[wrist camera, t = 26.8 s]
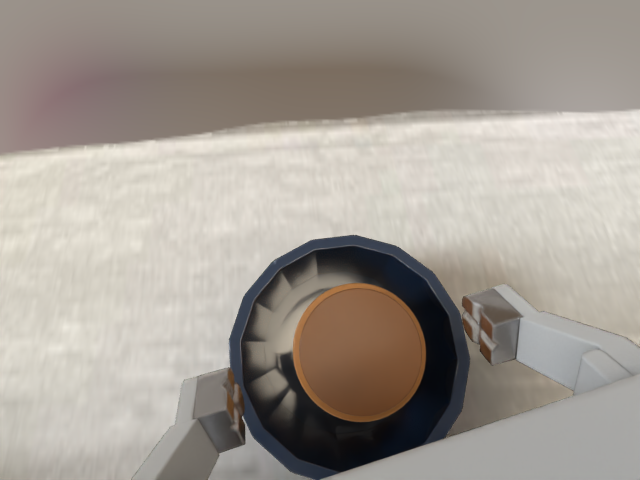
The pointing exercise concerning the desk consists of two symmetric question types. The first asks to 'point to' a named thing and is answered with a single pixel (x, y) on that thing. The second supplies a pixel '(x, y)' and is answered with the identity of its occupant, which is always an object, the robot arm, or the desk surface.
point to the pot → (281, 378)
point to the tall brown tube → (359, 352)
